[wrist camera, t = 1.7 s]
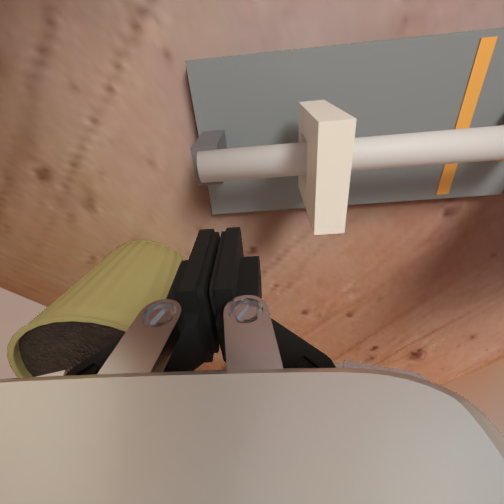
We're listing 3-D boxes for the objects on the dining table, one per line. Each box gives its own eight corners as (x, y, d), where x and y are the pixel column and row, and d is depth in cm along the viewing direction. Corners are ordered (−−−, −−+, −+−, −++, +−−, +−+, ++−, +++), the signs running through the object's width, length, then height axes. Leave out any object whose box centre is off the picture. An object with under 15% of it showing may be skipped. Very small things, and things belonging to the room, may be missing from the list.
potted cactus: (131, 199, 32) (-316, 686, 7) (232, 275, 38) (183, 690, 13) (70, 274, 38) (-282, 675, 13) (165, 330, 44) (44, 681, 19)
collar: (298, 101, 23) (318, 122, 15) (324, 99, 23) (356, 118, 15) (298, 185, 27) (314, 234, 19) (320, 184, 27) (344, 232, 19)
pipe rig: (188, 61, 25) (159, 60, 17) (557, 22, 23) (697, 4, 16) (214, 208, 32) (201, 251, 25) (491, 188, 31) (564, 229, 23)
